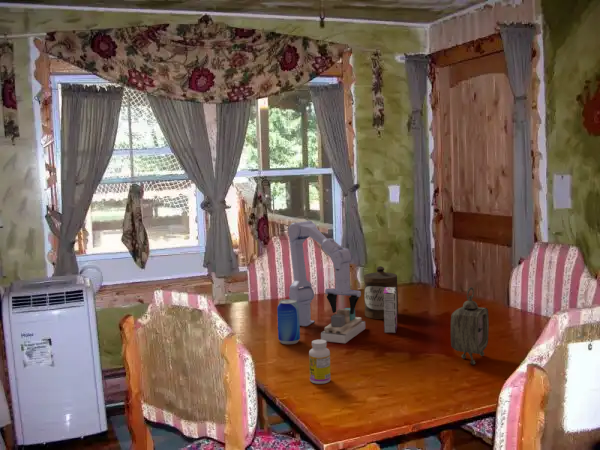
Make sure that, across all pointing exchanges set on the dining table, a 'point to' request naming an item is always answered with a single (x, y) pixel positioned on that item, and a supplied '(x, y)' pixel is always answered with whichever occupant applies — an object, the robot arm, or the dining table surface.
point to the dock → (343, 337)
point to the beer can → (288, 321)
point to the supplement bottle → (319, 362)
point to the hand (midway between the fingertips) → (343, 313)
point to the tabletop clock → (470, 328)
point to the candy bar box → (390, 310)
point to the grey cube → (337, 320)
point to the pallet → (348, 323)
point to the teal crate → (352, 316)
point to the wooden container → (378, 292)
